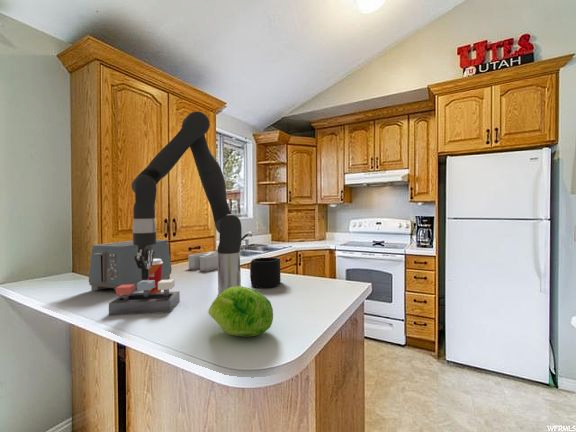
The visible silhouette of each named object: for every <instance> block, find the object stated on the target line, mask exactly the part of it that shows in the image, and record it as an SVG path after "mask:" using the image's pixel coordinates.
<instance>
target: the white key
mask: <svg viewBox="0 0 576 432" xmlns="http://www.w3.org/2000/svg"><path fill="white" fill-rule="evenodd" d="M175 286H176V285H175V279H173V278H172V279H171V278H170V279H168V280H161V281H160V282H158V290H161V291H163V292H164V296H169V292H170V290H172V289H173V288H174V287H175Z"/></svg>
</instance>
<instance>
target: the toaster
mask: <svg viewBox="0 0 576 432" xmlns="http://www.w3.org/2000/svg"><path fill="white" fill-rule="evenodd" d="M152 250H153V251H154V252H155V254H154V258H153V259H161V260H162V262H163V263H162V277H161V280H170V279H171V274H172V263H171V255H170V247H169V243H168V239H156V244H153V245H152ZM137 251H138V245H134V244H133V240H127V241H118V242H111V243H109V242H108V243H101V244H99V243H98V244H93V245H92V249H91V254H90V255H91V256H90V263H89V274H88V275H89V277H88V282H89V283H88V285H89V286H91V291H92V292H98V291H102V290H105V289H114V291H115V292H116V288H117V287H119V286H121V285H128V284H135V291H136V290H137V283H139V282H140V281H143V280H142V275H141V270H142V269H139V268H138V266H137V264H136V261H135V259H134V257H135V256H138V255H137Z"/></svg>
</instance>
